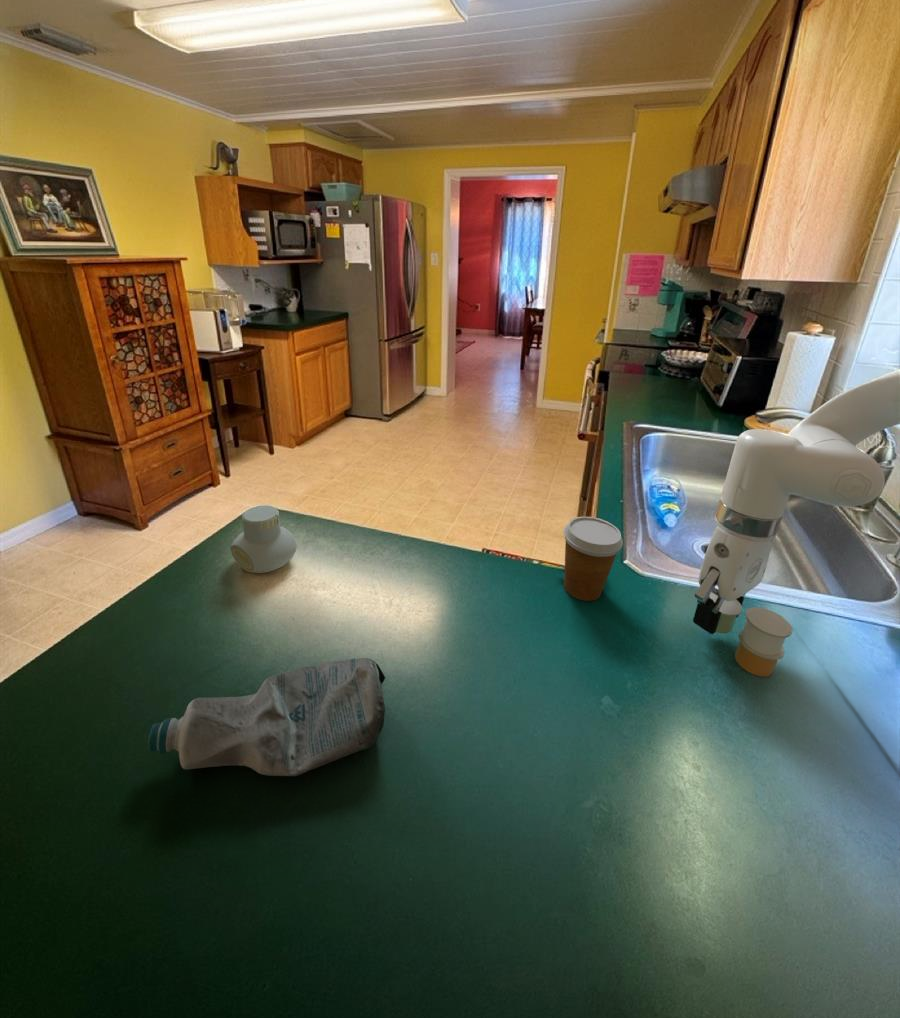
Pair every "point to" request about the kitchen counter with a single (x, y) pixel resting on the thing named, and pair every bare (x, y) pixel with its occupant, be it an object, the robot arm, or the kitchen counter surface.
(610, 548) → the disposable coffee cup
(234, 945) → the kitchen counter surface
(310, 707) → the detergent
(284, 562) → the air freshener
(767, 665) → the caramel pod
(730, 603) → the cylinder
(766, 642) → the white pod
